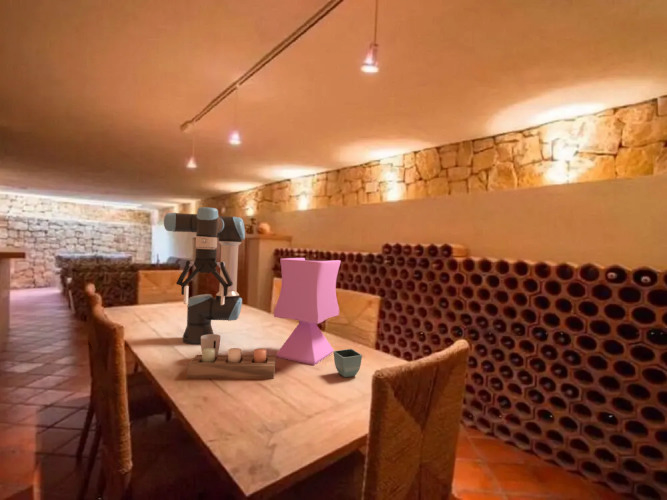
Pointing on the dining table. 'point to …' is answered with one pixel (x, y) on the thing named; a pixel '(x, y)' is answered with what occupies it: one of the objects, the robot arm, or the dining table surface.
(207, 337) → the cup
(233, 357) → the peach rounded knob
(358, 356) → the flower pot
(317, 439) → the dining table surface
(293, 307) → the pink table lamp
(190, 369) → the brown wooden long block
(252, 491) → the dining table surface
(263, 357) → the button terracotta
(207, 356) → the button sage
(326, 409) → the dining table surface
